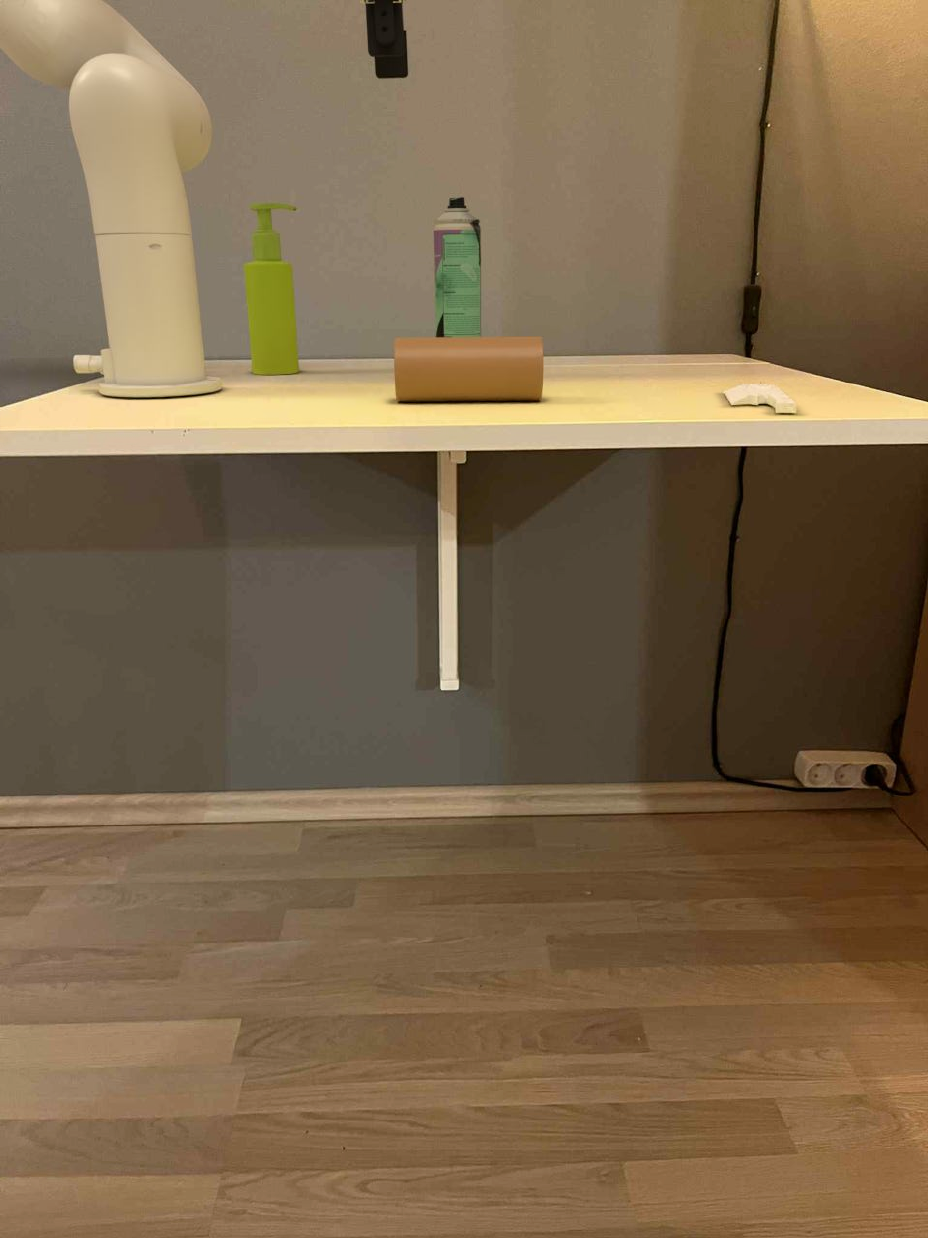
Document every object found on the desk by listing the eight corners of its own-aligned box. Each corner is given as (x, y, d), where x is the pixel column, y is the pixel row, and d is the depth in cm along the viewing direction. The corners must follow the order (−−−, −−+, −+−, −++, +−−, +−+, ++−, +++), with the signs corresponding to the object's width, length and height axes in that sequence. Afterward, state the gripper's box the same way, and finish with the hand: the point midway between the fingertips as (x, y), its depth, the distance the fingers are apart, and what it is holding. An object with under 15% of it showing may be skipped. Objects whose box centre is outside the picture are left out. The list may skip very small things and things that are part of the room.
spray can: (483, 374, 118) (482, 198, 111) (479, 378, 113) (478, 194, 106) (439, 374, 118) (436, 199, 112) (433, 378, 113) (430, 195, 106)
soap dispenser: (302, 374, 119) (291, 200, 112) (248, 374, 119) (233, 201, 113) (310, 370, 125) (300, 204, 118) (258, 370, 125) (244, 205, 118)
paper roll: (394, 405, 90) (392, 339, 88) (398, 397, 96) (396, 335, 94) (543, 404, 90) (544, 338, 88) (538, 396, 96) (539, 334, 94)
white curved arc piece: (734, 412, 83) (735, 399, 82) (723, 393, 97) (724, 382, 96) (796, 412, 82) (797, 399, 81) (775, 393, 96) (776, 382, 95)
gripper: (345, -116, 91) (357, 85, 97) (324, -201, 75) (340, 47, 81) (423, -118, 91) (430, 83, 97) (419, -204, 75) (428, 44, 81)
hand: (389, 66), depth 89 cm, fingers open, 9 cm apart
